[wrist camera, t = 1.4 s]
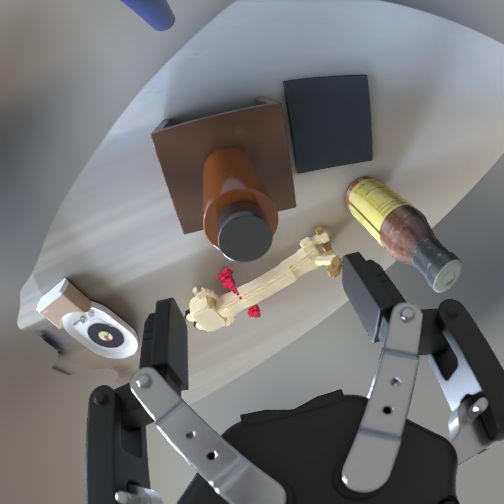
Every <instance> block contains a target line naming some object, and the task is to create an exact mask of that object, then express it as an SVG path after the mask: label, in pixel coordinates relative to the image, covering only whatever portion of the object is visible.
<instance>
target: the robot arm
mask: <svg viewBox="0 0 504 504" xmlns="http://www.w3.org/2000/svg"><path fill="white" fill-rule="evenodd" d="M342 283H343V287H344V290H345V292H346V294H347V296H348V298H349V300H350V302H351V303H352V305H353V307H354V309H355V310H356V312H357V314H358V316H359V318H360V320H361V322H362V324H363V326H364V327H365V329H366V331H367V333H368V335H369V337H370V339H371V341H372V343H376V342H378V341H381V343H382V345H383V347H382V351H381V355H380V358H379V362H378V365H377V369H376V372H375V376H374V379H373V382H372V385H371V388H370V391H369V394H368V397H367V398H366V397H363V396H359V395H343V392H342V390H341V389H340V390H337V391H334V392H331V393H327V394H324V395H321V396H317V397H316V398H314V399H312V400H310V401H308V402H307V403H305V404H303V405H301V406H299V407H297V408H295V409H292V410H263V411H258V412H253V413H248V414H243V415H240V417H241V421H240V422H238V423H236V424H234V425H233V426H231V427H230V428H229V429H227V430H226V431H225V432H224V433H223V434H222V435H221V436H220V435H219V434H218V433H217V432H216V431H215V430H213V429H212V428H211V427H210V426H209V425H208V424H207V423H206V422H205V421H204V420H203V419H202V418H201V417H200V416H199V415H198V414H197V413H196V412H195V411H194V410H193V409H192V408H191V407H190V406H189V405H188V404H187V403H186V402H185V401H184V400H183V399H182V398H181V391H182V390H189V389H188V346H187V325H186V322H185V319H184V317H183V315H182V313H181V311H180V309H179V308H178V306H177V304H176V302H175V300H174V299H173V298H169V299H164V300H160V301H157V303H156V311H155V313H152V314H149V316H148V318H147V320H146V321H145V324H144V334H143V339H142V340H143V341H142V348H141V357H140V366H139V370H137V371H136V372H135V373H134V374H133V375H132V377H131V379H130V382H129V383H128V384H126V385H123V386H121V387H119V388H117V389H114V390H113V389H112V388H111V387H109V386H106V385H102V386H99V387H97V388H96V389H94V391H93V392H92V393H91V395H90V398H89V406H88V418H87V431H86V457H85V466H86V467H85V473H86V474H85V478H86V479H85V480H86V504H163V502H162V499H161V497H160V496H159V495H158V494H157V493H156V492H155V491H153V490H151V488H150V480H149V469H148V457H147V442H146V441H147V440H146V425H148V424H150V423H153V422H156V423H155V424H156V426H157V428H158V429H159V430H160V431H161V432H162V434H163V435H164V436H165V437H166V438H167V440H168V441H169V442H170V443H171V444H172V445H173V446H174V448H175V449H176V450H177V451H178V452H179V453H180V454H181V455H182V456H183V457H184V458H185V459H186V461H187V462H188V463H189V464H190V465H191V466H192V467H193V468H194V469H195V470H196V471H197V473H196V475H195V476H194V478H193V479H192V481H191V482H190V484H189V485H188V487H187V488H186V490H185V491H184V493H183V494H182V496H181V497H180V498H179V500H178V501H177V503H176V504H459V501H458V499H457V496H456V473H457V466H458V465H459V464H461V463H463V462H464V461H466V460H468V459H470V458H471V457H473V456H474V455H476V454H480V453H482V452H484V451H486V450H488V449H489V448H491V447H493V446H494V445H496V444H497V443H499V442H501V441H502V440H504V370H503V368H502V366H501V365H500V363H499V361H498V359H497V358H496V356H495V355H494V353H493V351H492V349H491V347H490V346H489V344H488V342H487V341H486V339H485V338H484V336H483V334H482V333H481V332H480V330H479V328H478V327H477V325H476V323H475V322H474V320H473V319H472V317H471V316H470V315H469V313H468V312H467V310H466V309H465V307H464V306H463V305H462V304H461V303H460V302H459V301H456V300H453V299H447V300H444V301H443V302H442V303H440V305H439V308H438V309H427V310H422V309H420V308H419V307H418V306H416V305H415V304H413V303H408V302H406V301H405V299H404V298H403V296H402V295H401V294H400V292H399V291H398V289H397V288H396V287H395V285H394V284H393V282H392V281H391V280H390V278H389V277H388V276H387V274H385V271H384V270H383V269H382V267H381V266H380V265H379V264H377V263H376V262H374V261H372V260H368V261H366V260H365V259H364V258H363V256H362V255H361V254H360V253H359V252H356V253H352V254H348V255H345V256H343V267H342ZM418 355H426V356H427V358H428V360H429V362H430V364H431V366H432V368H433V370H434V372H435V375H436V377H437V379H438V381H439V383H440V385H441V387H442V390H443V392H444V394H445V396H446V398H447V401H448V403H449V405H450V408H451V410H452V413H451V415H450V417H449V420H448V427H449V439H448V440H447V439H446V438H444V437H443V436H440V435H438V434H436V433H434V432H432V431H430V430H428V429H426V428H424V427H422V426H420V425H418V424H416V423H414V422H412V421H410V420H408V419H406V418H407V415H408V411H409V407H410V403H411V399H412V394H413V390H414V385H415V380H416V375H417V370H418V364H419V356H418Z"/></svg>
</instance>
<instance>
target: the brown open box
mask: <svg viewBox="0 0 504 504" xmlns="http://www.w3.org/2000/svg"><path fill="white" fill-rule="evenodd" d="M256 102H257V106H251V107H246V108H241V109H237V110H232V111H227V112H223V113H219V114H215V115H211V116H207V117H203V118H199V119H195V120H191V121H188V122H184V123H181V124H177V125H174V126H172V123H171V120H170V119H167V120H164V121H162V122H161V123H160V124H159V125H158V127H157V128H156V129H155V130H154V131H153V132H152V133H151V139H152V142H153V145H154V148H155V151H156V155H157V158H158V161H159V164H160V167H161V170H162V173H163V176H164V179H165V182H166V185H167V188H168V191H169V194H170V197H171V200H172V202H173V205H174V208H175V211H176V214H177V217H178V219H179V222H180V225H181V228H182V230H183V233H184V234H188V233H192V232H196V231H200V230H204V226H203V166H204V163H205V161H206V159H207V158H208V157H209V156H210V155H211V154H212V153H213V152H215V151H216V150H219V149H221V148H226V147H232V148H237V149H240V150H242V151H243V152H245V153H246V154H247V155H248V156H249V157H250V159H251V160H252V162H253V164H254V166H255V168H256V170H257V172H258V174H259V175H260V177H261V179H262V181H263V183H264V185H265V187H266V189H267V191H268V193H269V195H270V196H271V198H272V200H273V202H274V204H275V206H276V209H277V212H278V211H282V210H286V209H291V208H295V207H296V201H295V193H294V185H293V177H292V170H291V163H290V156H289V149H288V142H287V136H286V129H285V123H284V117H283V111H282V105H281V103H279V102H277V101H274V100H272V99H269V98H267V97H264V96H263V97H257V98H256Z"/></svg>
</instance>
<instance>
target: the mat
mask: <svg viewBox="0 0 504 504" xmlns="http://www.w3.org/2000/svg"><path fill="white" fill-rule="evenodd" d="M283 84H284V90H285V96H286V102H287V108H288V114H289V121H290V127H291V134H292V141H293V148H294V155H295V162H296V170H297V173H303V172H308V171H314V170H319V169H324V168H330V167H335V166H341V165H347V164H353V163H359V162H365V161H371V160H372V131H371V113H370V100H369V89H368V79H367V75H345V76H328V77H315V78H305V79H296V80H288V81H283Z"/></svg>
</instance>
